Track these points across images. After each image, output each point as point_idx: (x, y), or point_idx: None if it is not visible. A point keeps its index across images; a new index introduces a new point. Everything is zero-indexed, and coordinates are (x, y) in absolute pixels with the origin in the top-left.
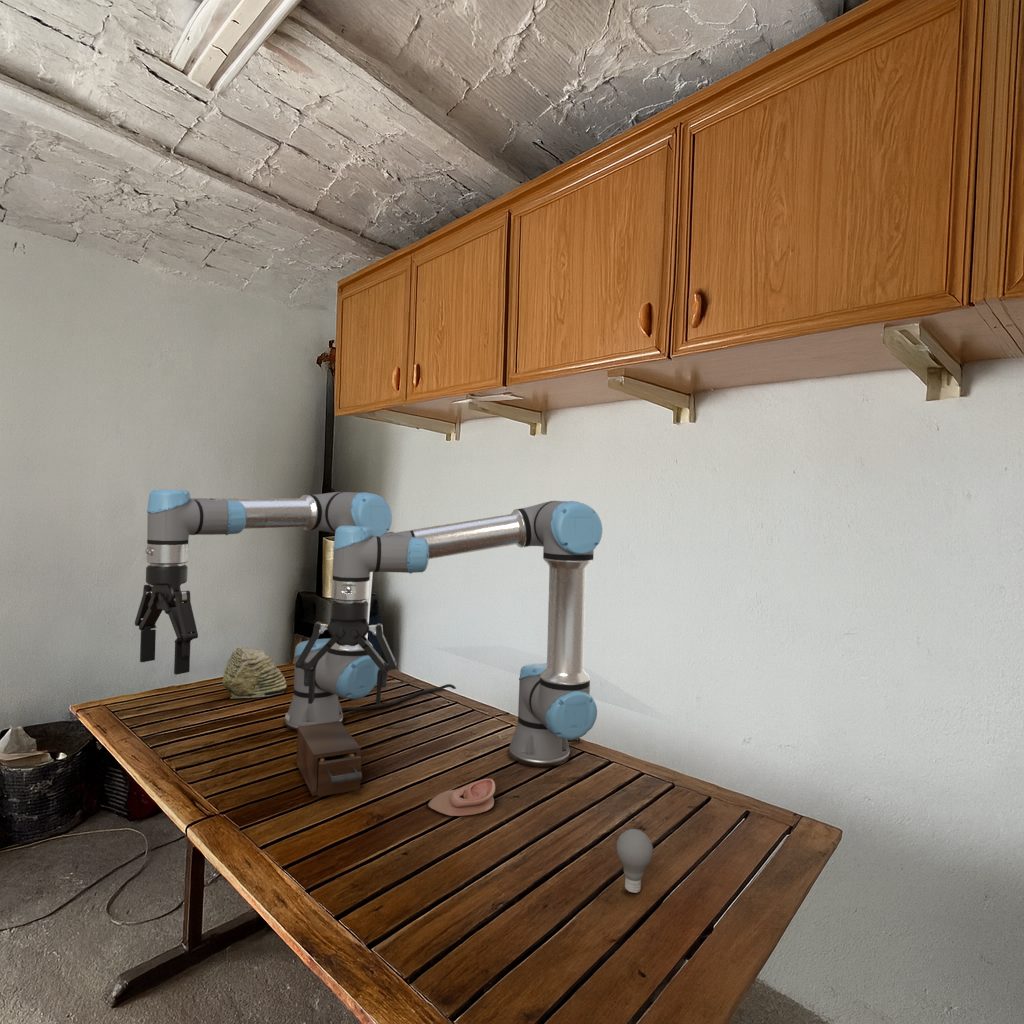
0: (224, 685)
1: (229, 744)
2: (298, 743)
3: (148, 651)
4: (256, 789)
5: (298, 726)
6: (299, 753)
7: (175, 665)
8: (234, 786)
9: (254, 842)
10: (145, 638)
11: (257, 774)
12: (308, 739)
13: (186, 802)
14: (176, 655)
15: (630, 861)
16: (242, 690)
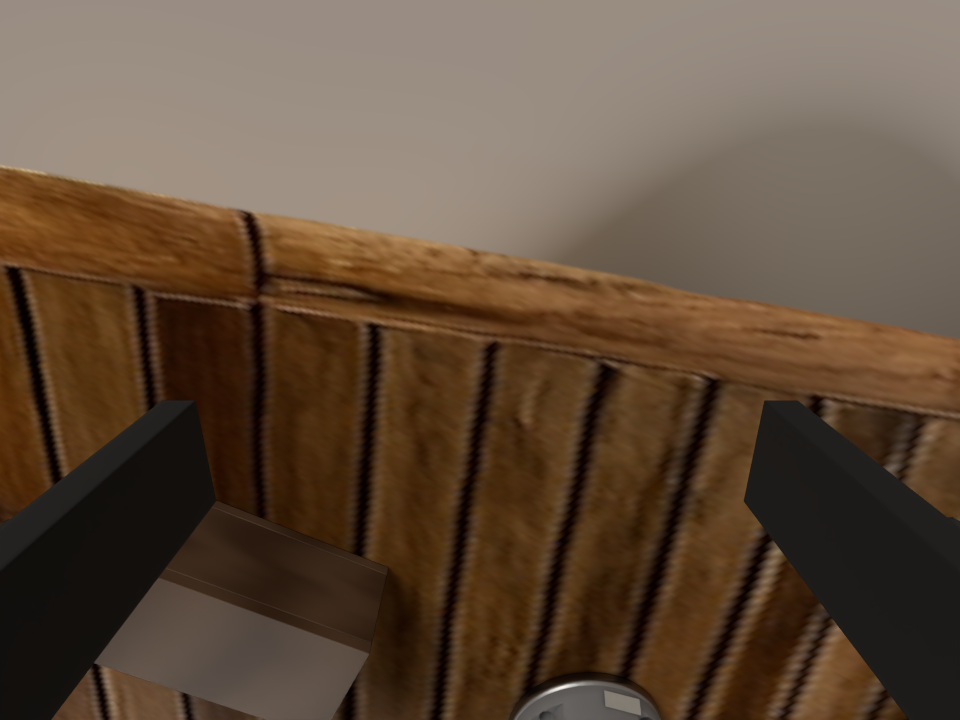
0: None
1: (642, 536)
2: (357, 608)
3: (802, 505)
4: (322, 430)
5: (367, 655)
6: (343, 584)
7: (126, 439)
8: (380, 406)
9: (49, 273)
10: (924, 586)
11: (403, 478)
12: (247, 617)
13: (384, 278)
14: (32, 502)
15: None
16: None
